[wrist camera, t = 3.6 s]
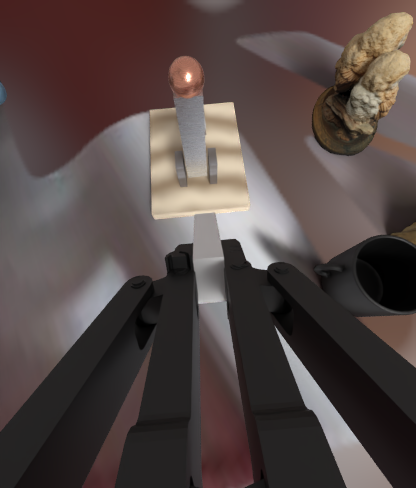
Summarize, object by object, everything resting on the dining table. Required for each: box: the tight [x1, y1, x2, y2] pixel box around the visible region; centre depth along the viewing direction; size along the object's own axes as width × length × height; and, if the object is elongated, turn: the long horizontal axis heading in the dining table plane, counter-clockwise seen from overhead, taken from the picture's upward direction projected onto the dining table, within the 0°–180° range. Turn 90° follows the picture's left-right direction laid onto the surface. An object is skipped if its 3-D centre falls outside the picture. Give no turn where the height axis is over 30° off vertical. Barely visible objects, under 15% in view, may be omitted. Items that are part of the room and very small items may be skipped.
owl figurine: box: [312, 12, 413, 156], centre depth 38 cm, size 18×12×17 cm, turn 169°
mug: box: [314, 235, 416, 317], centre depth 32 cm, size 9×12×9 cm
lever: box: [168, 56, 207, 178], centre depth 30 cm, size 4×4×17 cm
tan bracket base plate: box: [150, 102, 250, 219], centre depth 40 cm, size 22×16×7 cm
